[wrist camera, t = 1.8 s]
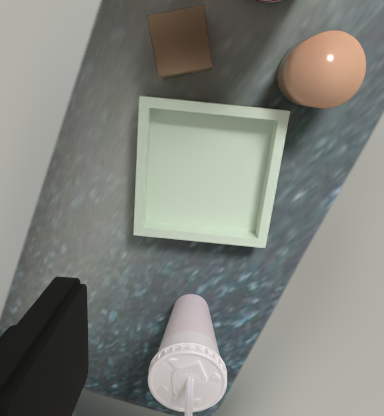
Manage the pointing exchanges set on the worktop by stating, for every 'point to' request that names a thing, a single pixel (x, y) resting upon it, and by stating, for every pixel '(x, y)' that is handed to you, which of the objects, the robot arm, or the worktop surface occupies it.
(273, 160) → the tray
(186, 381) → the smoothie
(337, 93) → the peach round block
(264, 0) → the soda can
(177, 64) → the walnut block
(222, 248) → the worktop surface
